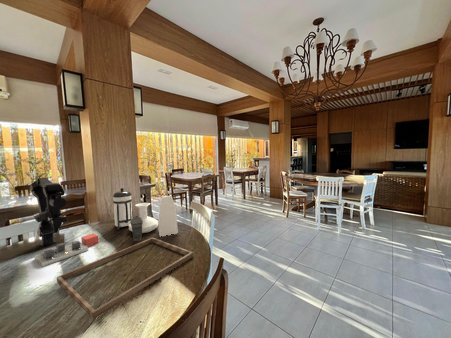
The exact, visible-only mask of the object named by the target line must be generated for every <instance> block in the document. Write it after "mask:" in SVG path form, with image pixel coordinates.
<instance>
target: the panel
mask: <svg viewBox="0 0 451 338" xmlns="http://www.w3.org/2000/svg"><path fill="white" fill-rule="evenodd" d="M52 250H53V252H54V256H52V257H49V258H45V257H44V252H42V253H39V254H36V255H34V260H35V261H36V263H38V264H39V266H41V267H42V268H43V267H47V266H48V265H52V264H54V263H56V262H59V261H62V260H65V259H68V258H70V257H73V256H76V255H79V254H81V253H84V252H87V251H89V246H88V247H87V246H86V245H84V244H82V242H80V247H79V248H76V249H73V248H72V243H70V244H67V245H66V244H65V249H64V250H61V251H57V250H56V248H54V249H52Z"/></svg>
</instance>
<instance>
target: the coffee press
mask: <svg viewBox="0 0 451 338" xmlns="http://www.w3.org/2000/svg"><path fill="white" fill-rule="evenodd" d="M112 198H113V199H112V202H113V203H112V204H113V215H114V218H113V220H114V224H113V226H114V227H116V230H117V231H119V230H120V229H121V228H123V227H127V226H128V227H129V224H130V223H131V220H132V218H133V210H132V207H133V205H132V201H133V200H132V193H131V191H129V190H124V188H123V187H121V188H120V190H119V191H115V192H114V193H113V195H112Z"/></svg>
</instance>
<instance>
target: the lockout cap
mask: <svg viewBox="0 0 451 338" xmlns="http://www.w3.org/2000/svg"><path fill="white" fill-rule="evenodd" d="M80 238H81V243H82V244H84V245H86V246H87V247H88V248H89V247H90V246H92V245H96V244H99V236H98V235H97V234H95V233H91V234H87V235H84V236H81V237H80Z"/></svg>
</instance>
